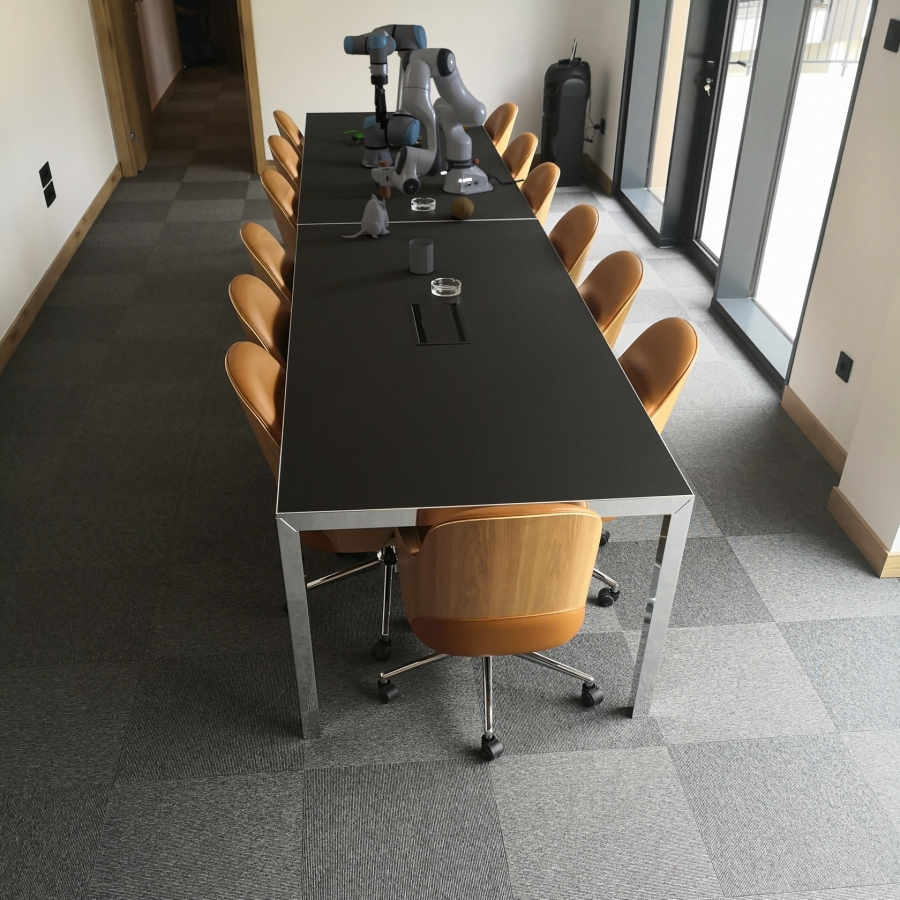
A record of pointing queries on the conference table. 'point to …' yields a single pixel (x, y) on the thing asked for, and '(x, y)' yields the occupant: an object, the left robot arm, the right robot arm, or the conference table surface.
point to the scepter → (355, 137)
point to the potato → (462, 208)
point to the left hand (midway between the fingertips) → (381, 125)
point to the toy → (374, 219)
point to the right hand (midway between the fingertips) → (391, 167)
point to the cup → (421, 256)
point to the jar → (384, 190)
